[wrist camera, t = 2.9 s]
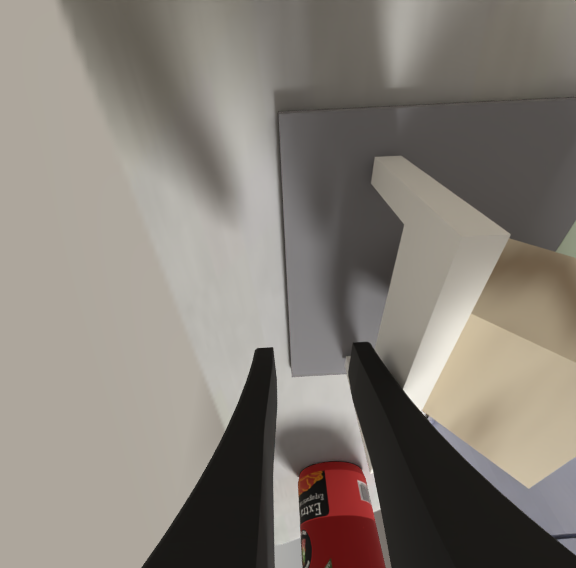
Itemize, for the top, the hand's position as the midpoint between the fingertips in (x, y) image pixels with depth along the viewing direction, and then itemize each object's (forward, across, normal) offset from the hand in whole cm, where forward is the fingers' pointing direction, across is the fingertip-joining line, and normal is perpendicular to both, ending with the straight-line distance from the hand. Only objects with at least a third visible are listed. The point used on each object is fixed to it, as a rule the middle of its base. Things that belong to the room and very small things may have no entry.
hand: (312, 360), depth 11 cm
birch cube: (+3, -6, 0) cm, 6 cm away
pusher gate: (+5, -3, 0) cm, 6 cm away
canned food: (+5, -3, +29) cm, 30 cm away
